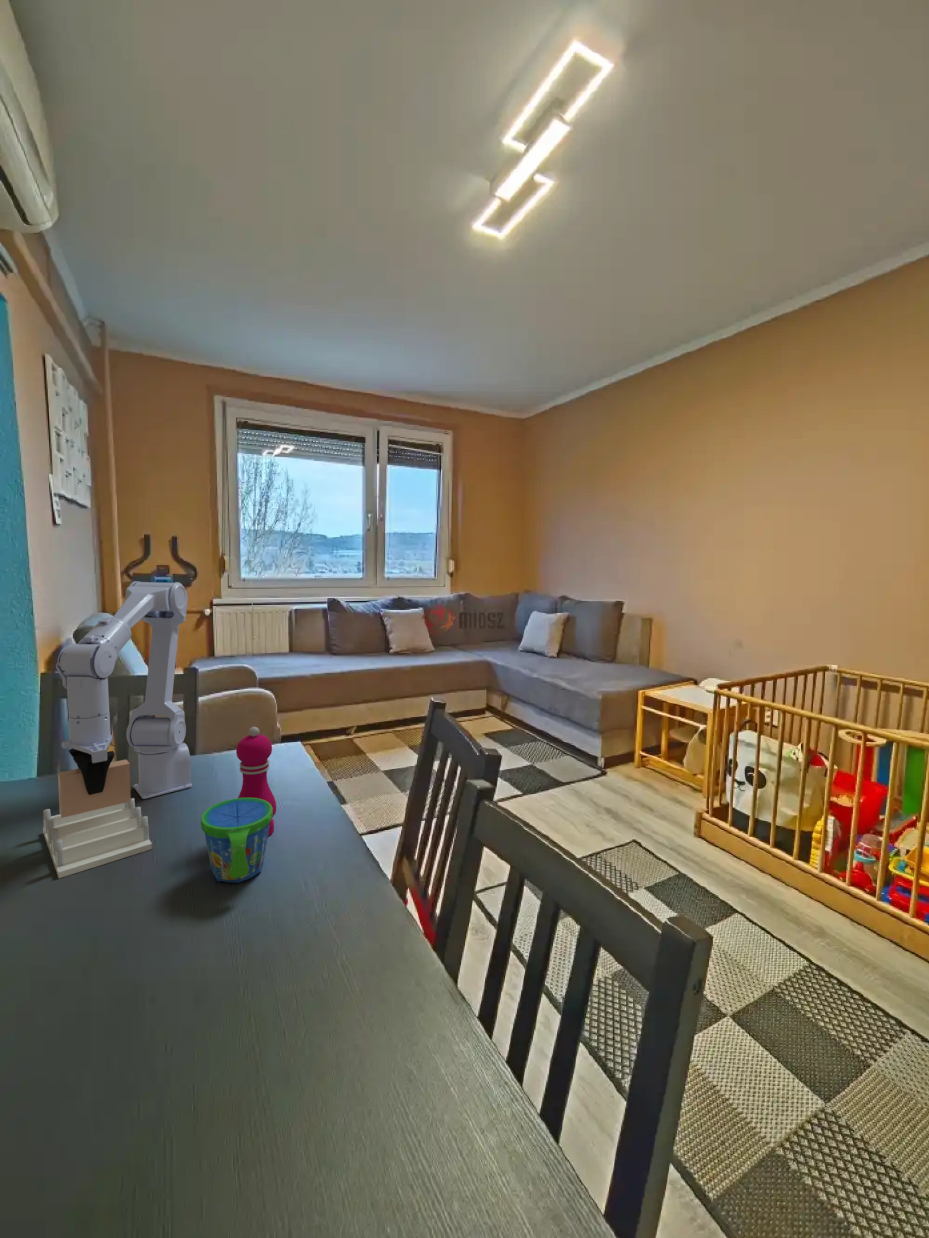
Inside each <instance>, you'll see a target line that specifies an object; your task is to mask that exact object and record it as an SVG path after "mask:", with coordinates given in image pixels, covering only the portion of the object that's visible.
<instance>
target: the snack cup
mask: <svg viewBox="0 0 929 1238" xmlns="http://www.w3.org/2000/svg"><path fill="white" fill-rule="evenodd" d="M272 816H273V809H272V806H271V804H270V803H269V802H267V801H265V800H262V799H258V798H238V797H237V798H231V799H228V800H226V799H225V800H223V801H219V802H218V803H216V804H214V805H212V806H210V807H208V808H207V809H206V810H204V812H203V813H202V815H201V818H200V826H201V827H200V828H201V830H202V832H203V833H204V836H205V837H204V838H205V842H206V848H207V853H208V857H209V863H210V867H211V870H212V874H213V876H214V878H215V879H216V880H217V882H224V883H229V884H230V883H233V884H234V883H235V884H236V883H238V884H239V883H241V882H244V881H247V880H249V879H251V878H253V877H255V876H256V875H257V874H259V873H261V872H262V869H263V866H264V862H265V858H266V850H267V844H268V838H269V837H268V832H269V824H270V821H271V820H272V819H273V818H272ZM273 817H274V816H273Z"/></svg>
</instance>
